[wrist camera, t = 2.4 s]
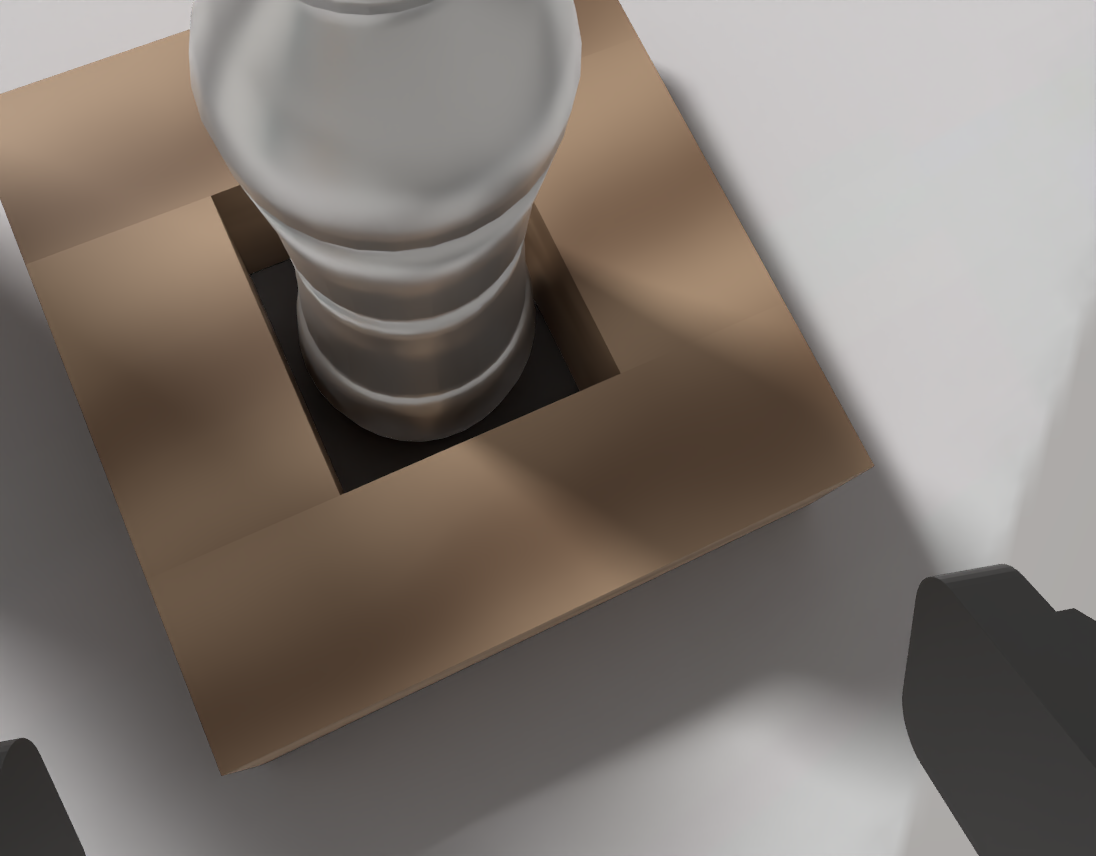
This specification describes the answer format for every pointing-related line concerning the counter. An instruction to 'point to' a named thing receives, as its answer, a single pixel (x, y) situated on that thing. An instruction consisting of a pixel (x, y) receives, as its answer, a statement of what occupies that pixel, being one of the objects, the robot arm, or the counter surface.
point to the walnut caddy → (439, 480)
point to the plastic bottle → (396, 183)
